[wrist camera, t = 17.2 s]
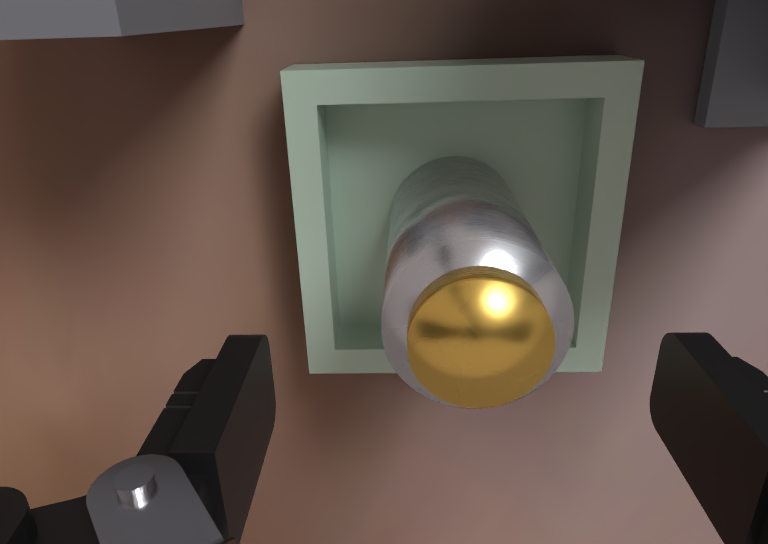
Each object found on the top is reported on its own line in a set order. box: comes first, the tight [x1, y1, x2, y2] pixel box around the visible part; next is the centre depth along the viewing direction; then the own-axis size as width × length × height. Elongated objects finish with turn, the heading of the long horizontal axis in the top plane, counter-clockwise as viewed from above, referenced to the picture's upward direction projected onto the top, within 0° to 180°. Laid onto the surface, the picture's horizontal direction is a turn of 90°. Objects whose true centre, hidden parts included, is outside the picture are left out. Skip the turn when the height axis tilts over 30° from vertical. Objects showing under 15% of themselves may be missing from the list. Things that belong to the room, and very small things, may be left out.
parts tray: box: [280, 55, 645, 374], centre depth 20 cm, size 10×10×2 cm
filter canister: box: [381, 156, 574, 408], centre depth 17 cm, size 4×4×9 cm
